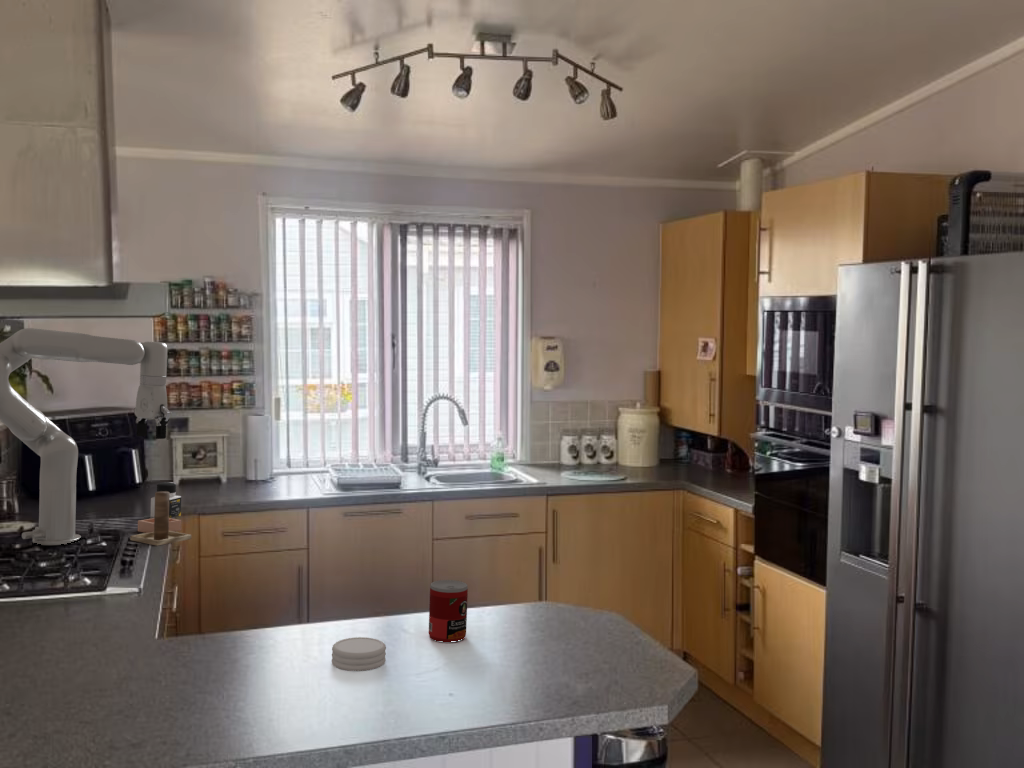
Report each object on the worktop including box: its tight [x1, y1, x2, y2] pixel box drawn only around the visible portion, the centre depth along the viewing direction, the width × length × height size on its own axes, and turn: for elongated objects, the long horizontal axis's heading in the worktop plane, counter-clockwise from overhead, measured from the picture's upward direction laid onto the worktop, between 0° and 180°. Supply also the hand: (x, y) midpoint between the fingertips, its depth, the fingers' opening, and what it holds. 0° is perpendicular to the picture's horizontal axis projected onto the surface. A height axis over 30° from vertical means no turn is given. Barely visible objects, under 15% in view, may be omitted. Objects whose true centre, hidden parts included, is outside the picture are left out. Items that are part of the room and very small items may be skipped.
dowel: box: [153, 491, 170, 540], centre depth 261 cm, size 4×4×14 cm
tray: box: [129, 531, 192, 547], centre depth 261 cm, size 12×12×2 cm
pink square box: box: [137, 517, 182, 534], centre depth 274 cm, size 9×9×4 cm
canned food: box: [428, 579, 469, 642], centre depth 181 cm, size 8×8×11 cm
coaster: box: [331, 636, 387, 672], centre depth 165 cm, size 10×10×4 cm
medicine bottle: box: [150, 481, 182, 519], centre depth 299 cm, size 7×7×12 cm
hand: (151, 437), depth 271 cm, fingers open, 9 cm apart
